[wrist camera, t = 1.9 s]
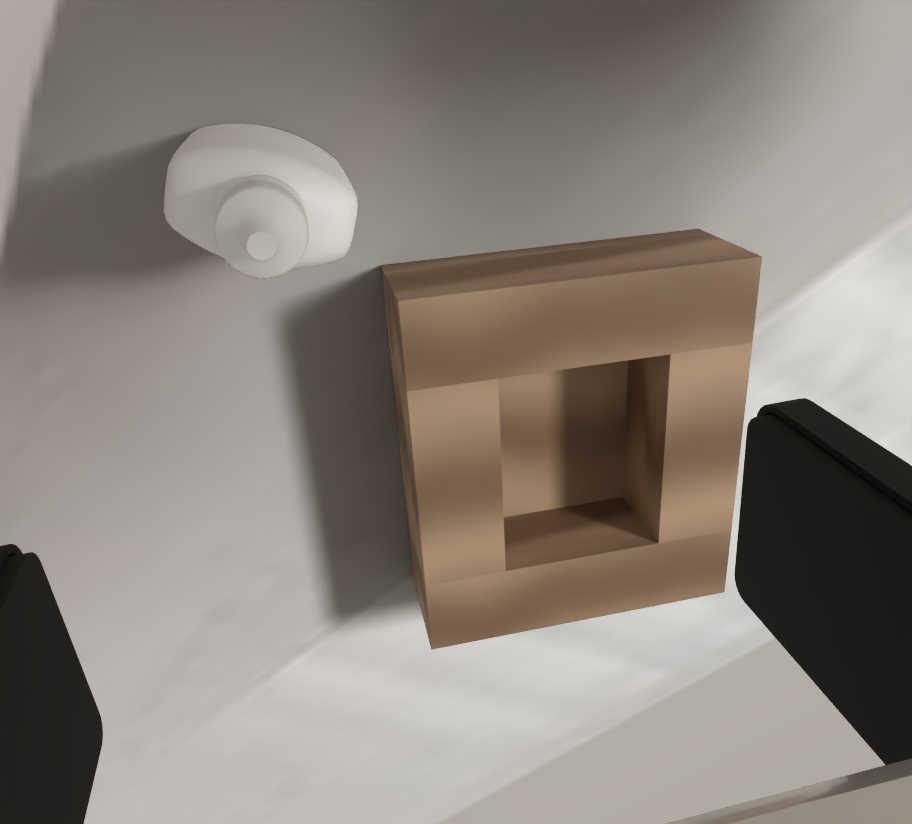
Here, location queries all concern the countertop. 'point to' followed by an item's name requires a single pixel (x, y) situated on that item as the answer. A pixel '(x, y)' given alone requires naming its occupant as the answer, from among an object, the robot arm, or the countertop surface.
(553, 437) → the box
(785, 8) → the countertop surface
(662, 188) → the countertop surface
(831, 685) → the robot arm
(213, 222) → the eye dropper bottle
